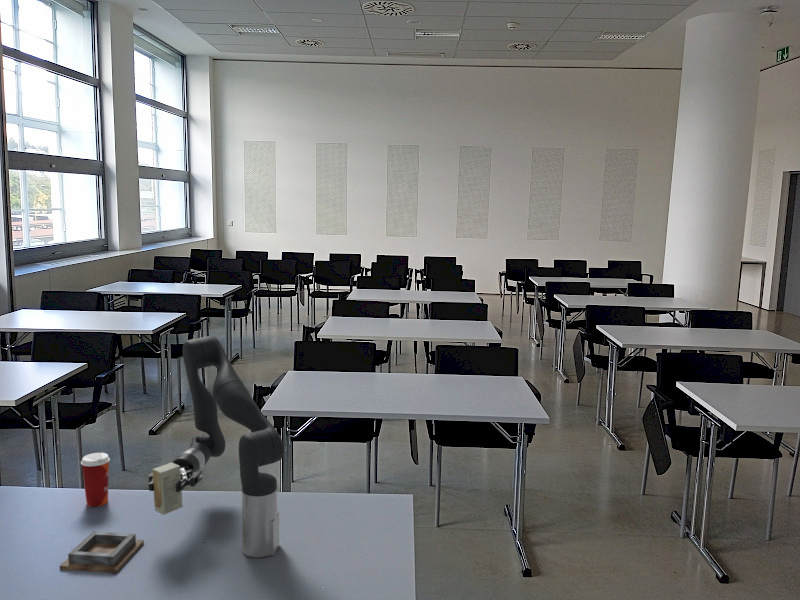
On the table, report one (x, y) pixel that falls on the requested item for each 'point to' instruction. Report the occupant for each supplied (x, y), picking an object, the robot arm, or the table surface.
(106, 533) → the socket stand
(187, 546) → the table surface
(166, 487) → the skincare box
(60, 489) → the table surface
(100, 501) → the coffee cup
